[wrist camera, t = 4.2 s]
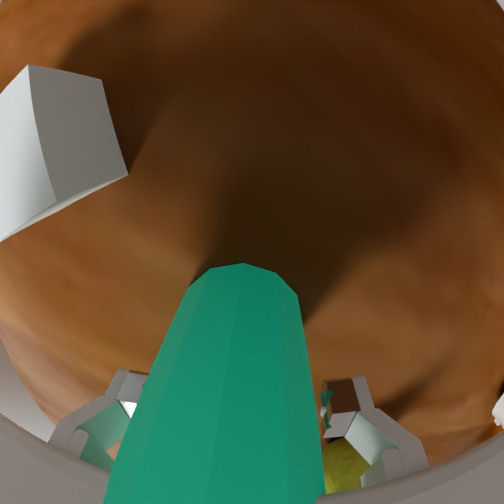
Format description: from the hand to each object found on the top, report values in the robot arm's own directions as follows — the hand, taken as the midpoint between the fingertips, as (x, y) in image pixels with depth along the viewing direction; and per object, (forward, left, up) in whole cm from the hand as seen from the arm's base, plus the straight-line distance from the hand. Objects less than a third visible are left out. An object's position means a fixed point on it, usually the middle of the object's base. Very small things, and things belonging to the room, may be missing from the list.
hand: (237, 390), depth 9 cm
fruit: (-8, +15, -5) cm, 18 cm away
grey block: (+8, -9, -5) cm, 13 cm away
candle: (0, 0, -5) cm, 5 cm away
